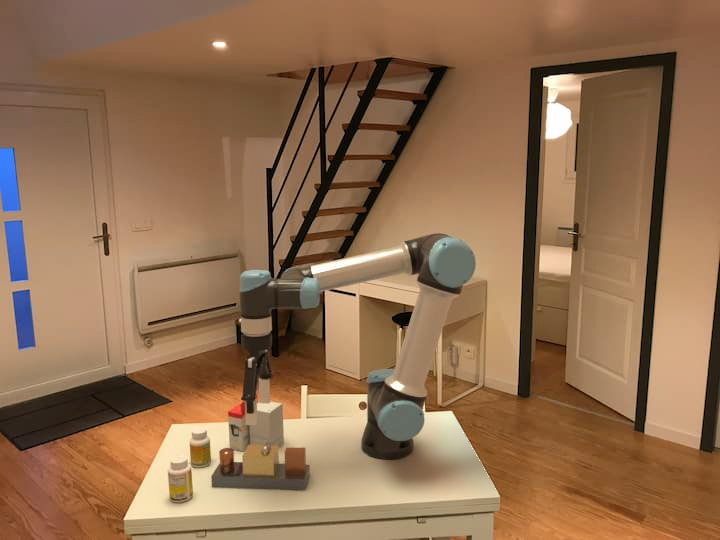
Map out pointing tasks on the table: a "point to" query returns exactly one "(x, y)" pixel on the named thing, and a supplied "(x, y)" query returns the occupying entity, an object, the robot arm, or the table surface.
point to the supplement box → (268, 425)
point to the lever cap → (260, 460)
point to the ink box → (238, 428)
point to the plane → (285, 478)
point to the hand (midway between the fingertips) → (258, 413)
